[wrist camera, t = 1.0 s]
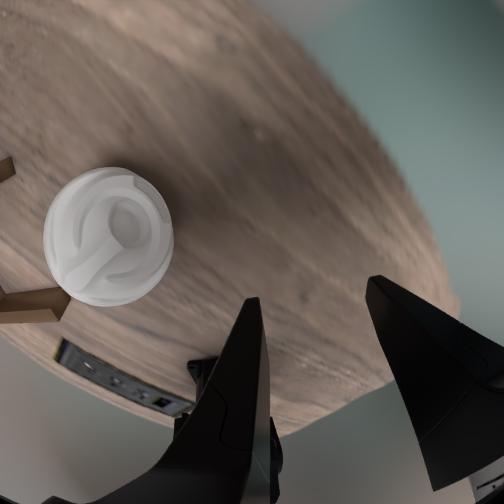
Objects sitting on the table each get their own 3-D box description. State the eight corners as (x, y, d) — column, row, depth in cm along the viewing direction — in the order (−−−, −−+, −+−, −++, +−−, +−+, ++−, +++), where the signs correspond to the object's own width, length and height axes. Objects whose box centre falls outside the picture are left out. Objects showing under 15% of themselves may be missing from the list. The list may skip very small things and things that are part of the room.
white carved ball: (201, 224, 19) (190, 300, 13) (127, 273, 21) (97, 348, 14) (131, 132, 15) (71, 162, 9) (61, 198, 17) (1, 255, 10)
